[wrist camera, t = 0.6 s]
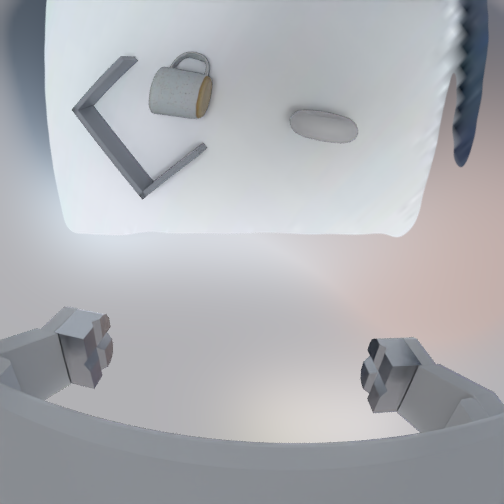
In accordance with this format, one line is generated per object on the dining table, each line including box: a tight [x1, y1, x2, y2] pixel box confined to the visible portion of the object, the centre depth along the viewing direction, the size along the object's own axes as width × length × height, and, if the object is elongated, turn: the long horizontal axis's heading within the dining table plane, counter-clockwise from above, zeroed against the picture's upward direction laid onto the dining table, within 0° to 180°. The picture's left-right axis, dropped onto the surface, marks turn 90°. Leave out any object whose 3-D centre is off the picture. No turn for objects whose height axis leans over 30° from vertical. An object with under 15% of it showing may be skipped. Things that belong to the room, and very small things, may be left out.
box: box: [72, 56, 207, 199], centre depth 47 cm, size 13×21×5 cm, turn 35°
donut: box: [290, 110, 358, 143], centre depth 43 cm, size 10×4×10 cm, turn 85°
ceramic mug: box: [149, 52, 212, 118], centre depth 42 cm, size 11×8×8 cm
